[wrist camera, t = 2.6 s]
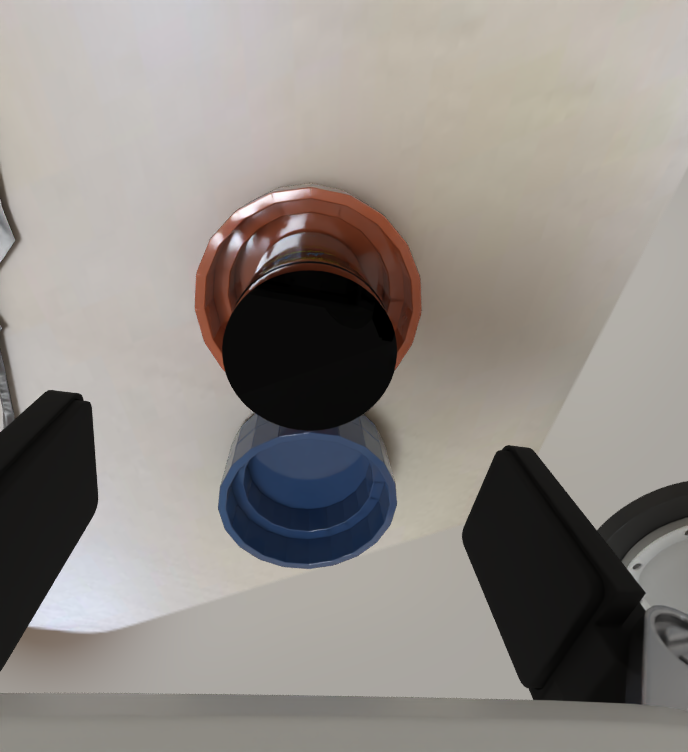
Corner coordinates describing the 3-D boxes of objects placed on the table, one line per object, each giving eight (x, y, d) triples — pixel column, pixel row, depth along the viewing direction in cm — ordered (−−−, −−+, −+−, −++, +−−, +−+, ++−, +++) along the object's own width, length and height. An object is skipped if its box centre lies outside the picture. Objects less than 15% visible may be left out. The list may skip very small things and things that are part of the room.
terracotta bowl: (423, 206, 25) (449, 215, 20) (378, 380, 29) (391, 419, 25) (222, 163, 23) (200, 163, 18) (209, 356, 28) (190, 392, 23)
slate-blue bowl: (400, 404, 30) (416, 445, 26) (366, 522, 35) (374, 574, 31) (238, 381, 29) (225, 422, 24) (225, 509, 33) (213, 562, 29)
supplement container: (230, 266, 25) (183, 327, 15) (331, 206, 24) (346, 232, 14) (291, 357, 28) (283, 456, 18) (384, 307, 27) (425, 384, 17)
